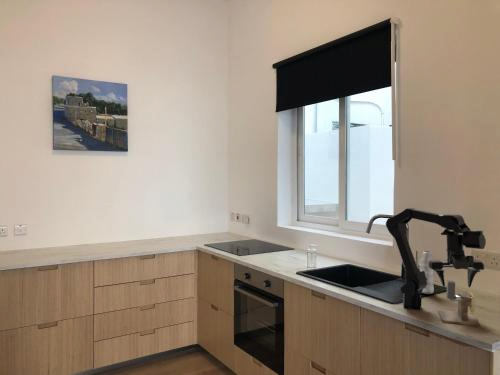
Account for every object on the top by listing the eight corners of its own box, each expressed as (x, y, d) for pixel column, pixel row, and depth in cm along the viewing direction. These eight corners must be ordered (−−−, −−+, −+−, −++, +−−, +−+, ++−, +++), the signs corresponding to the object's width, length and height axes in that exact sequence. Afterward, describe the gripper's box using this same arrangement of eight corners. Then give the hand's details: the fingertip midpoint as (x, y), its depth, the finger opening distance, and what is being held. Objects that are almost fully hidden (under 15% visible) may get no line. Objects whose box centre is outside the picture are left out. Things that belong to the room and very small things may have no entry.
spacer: (471, 312, 156) (471, 296, 156) (468, 307, 162) (468, 292, 162) (474, 312, 156) (474, 296, 156) (470, 307, 162) (471, 292, 162)
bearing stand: (442, 322, 157) (443, 296, 156) (438, 312, 168) (438, 288, 168) (480, 326, 153) (481, 300, 153) (473, 316, 164) (474, 291, 164)
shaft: (447, 301, 160) (448, 282, 160) (446, 299, 163) (447, 280, 163) (476, 304, 157) (477, 284, 157) (474, 301, 160) (475, 282, 160)
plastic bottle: (434, 296, 190) (435, 253, 190) (418, 294, 193) (419, 252, 192) (433, 292, 196) (434, 251, 196) (418, 290, 199) (419, 249, 198)
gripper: (435, 249, 154) (436, 291, 153) (489, 249, 150) (490, 292, 150) (427, 246, 165) (429, 285, 164) (477, 245, 161) (479, 285, 161)
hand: (456, 287), depth 160 cm, fingers open, 9 cm apart
